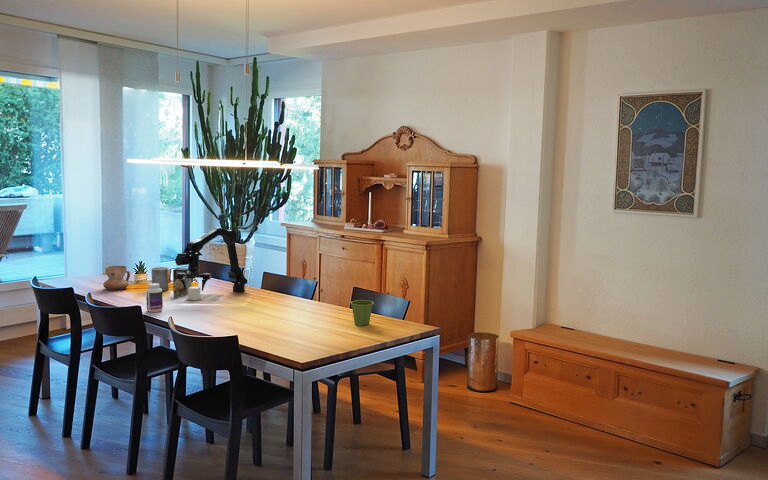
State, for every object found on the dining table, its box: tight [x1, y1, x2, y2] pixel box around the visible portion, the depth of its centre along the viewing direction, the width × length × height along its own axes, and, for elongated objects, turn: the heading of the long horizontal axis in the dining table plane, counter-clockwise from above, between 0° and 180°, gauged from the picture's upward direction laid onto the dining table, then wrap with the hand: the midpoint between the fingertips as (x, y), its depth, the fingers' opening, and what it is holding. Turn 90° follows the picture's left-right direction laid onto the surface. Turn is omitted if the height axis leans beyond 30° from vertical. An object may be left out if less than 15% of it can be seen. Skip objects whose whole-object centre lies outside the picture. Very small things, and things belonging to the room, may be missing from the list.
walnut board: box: [184, 293, 224, 302], centre depth 384 cm, size 18×20×1 cm
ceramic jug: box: [102, 264, 131, 291], centre depth 410 cm, size 18×14×14 cm
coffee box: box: [172, 267, 192, 297], centre depth 394 cm, size 9×6×16 cm
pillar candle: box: [151, 266, 170, 292], centre depth 409 cm, size 10×10×15 cm
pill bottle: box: [145, 283, 164, 313], centre depth 352 cm, size 8×8×14 cm
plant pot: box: [349, 299, 375, 327], centre depth 330 cm, size 12×12×11 cm
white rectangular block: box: [187, 286, 201, 300], centre depth 379 cm, size 5×5×7 cm
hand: (194, 291), depth 379 cm, fingers open, 9 cm apart
